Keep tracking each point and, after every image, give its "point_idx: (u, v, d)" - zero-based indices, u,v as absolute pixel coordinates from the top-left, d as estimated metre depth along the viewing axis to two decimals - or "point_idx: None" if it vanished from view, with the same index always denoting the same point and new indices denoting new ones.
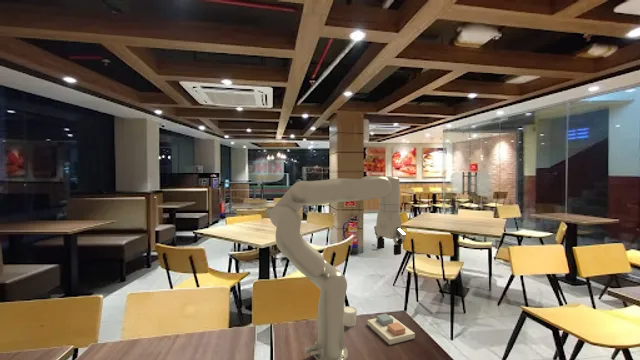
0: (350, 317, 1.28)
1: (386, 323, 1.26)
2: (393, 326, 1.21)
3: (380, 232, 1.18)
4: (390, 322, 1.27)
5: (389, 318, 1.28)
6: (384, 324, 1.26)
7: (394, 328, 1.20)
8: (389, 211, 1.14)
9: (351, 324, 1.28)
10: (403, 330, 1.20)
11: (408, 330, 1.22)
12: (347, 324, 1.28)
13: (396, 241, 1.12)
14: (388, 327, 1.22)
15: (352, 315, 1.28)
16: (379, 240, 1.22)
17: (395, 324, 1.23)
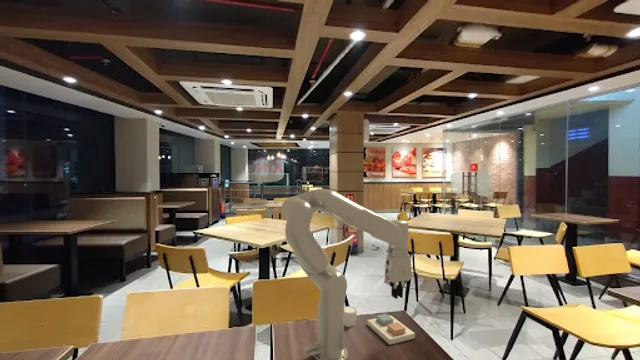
0: (350, 317, 1.28)
1: (386, 323, 1.26)
2: (393, 326, 1.21)
3: (398, 278, 1.17)
4: (390, 322, 1.27)
5: (389, 318, 1.28)
6: (384, 324, 1.26)
7: (394, 328, 1.20)
8: (407, 254, 1.19)
9: (351, 324, 1.28)
10: (403, 330, 1.20)
11: (408, 330, 1.22)
12: (347, 324, 1.28)
13: (404, 284, 1.20)
14: (388, 327, 1.22)
15: (352, 315, 1.28)
16: None
17: (395, 324, 1.23)
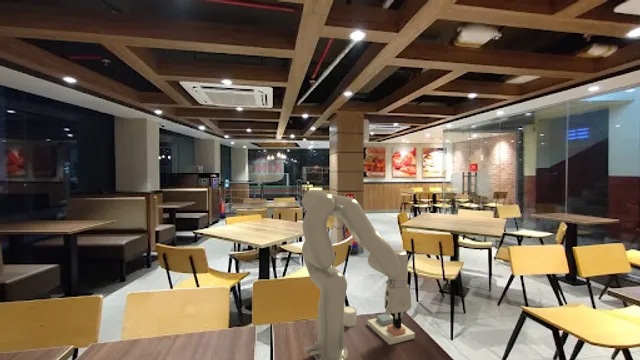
0: (350, 316, 1.28)
1: (386, 323, 1.26)
2: (392, 327, 1.21)
3: (397, 309, 1.18)
4: (390, 322, 1.27)
5: (389, 318, 1.28)
6: (384, 324, 1.26)
7: (394, 328, 1.20)
8: (407, 284, 1.20)
9: (351, 324, 1.28)
10: (403, 331, 1.20)
11: (408, 330, 1.22)
12: (347, 324, 1.28)
13: None
14: (388, 328, 1.22)
15: (352, 315, 1.28)
16: None
17: None
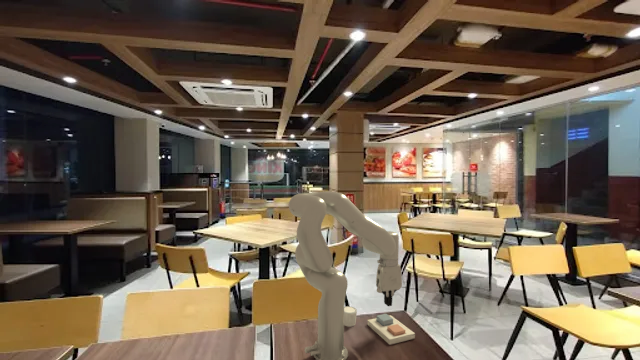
0: (350, 316, 1.28)
1: (386, 323, 1.26)
2: (392, 328, 1.21)
3: (388, 287, 1.23)
4: (390, 322, 1.27)
5: (389, 318, 1.28)
6: (384, 324, 1.26)
7: (394, 330, 1.20)
8: (398, 264, 1.25)
9: (351, 324, 1.28)
10: (403, 332, 1.20)
11: (408, 330, 1.22)
12: (347, 324, 1.28)
13: (393, 293, 1.26)
14: (388, 329, 1.22)
15: (352, 315, 1.28)
16: None
17: (395, 326, 1.23)
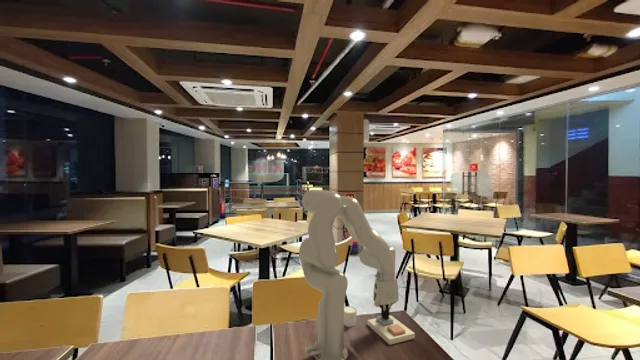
0: (350, 317, 1.28)
1: (386, 324, 1.26)
2: (392, 328, 1.21)
3: (385, 301, 1.25)
4: (390, 323, 1.27)
5: (389, 319, 1.28)
6: (384, 325, 1.26)
7: (394, 330, 1.20)
8: (394, 278, 1.27)
9: (351, 324, 1.28)
10: (403, 332, 1.20)
11: (408, 330, 1.22)
12: (347, 324, 1.28)
13: (390, 307, 1.28)
14: (388, 329, 1.22)
15: (352, 315, 1.28)
16: None
17: (395, 326, 1.23)
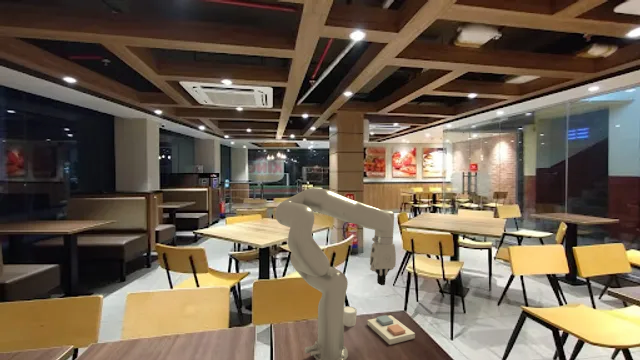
0: (350, 316, 1.28)
1: None
2: (392, 328, 1.21)
3: (382, 266, 1.22)
4: (390, 324, 1.27)
5: (389, 320, 1.28)
6: None
7: (394, 330, 1.20)
8: (392, 243, 1.24)
9: (351, 324, 1.28)
10: (403, 332, 1.20)
11: (408, 330, 1.22)
12: (347, 324, 1.28)
13: (387, 272, 1.25)
14: (388, 329, 1.22)
15: (352, 315, 1.28)
16: None
17: (395, 326, 1.23)
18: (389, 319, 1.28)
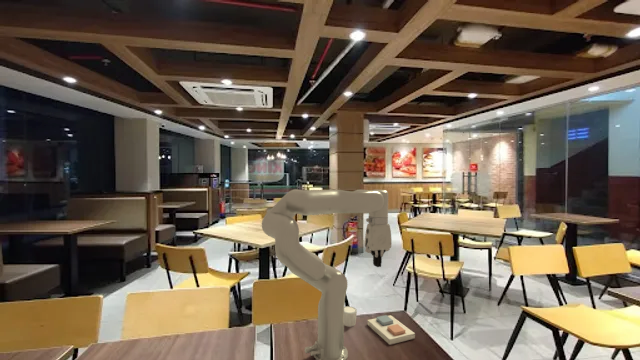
0: (350, 316, 1.28)
1: None
2: (392, 328, 1.21)
3: (377, 247, 1.18)
4: (390, 324, 1.27)
5: (389, 320, 1.28)
6: None
7: (394, 330, 1.20)
8: (387, 223, 1.20)
9: (351, 324, 1.28)
10: (403, 332, 1.20)
11: (408, 330, 1.22)
12: (347, 324, 1.28)
13: None
14: (388, 329, 1.22)
15: (352, 315, 1.28)
16: None
17: (395, 326, 1.23)
18: (389, 319, 1.28)
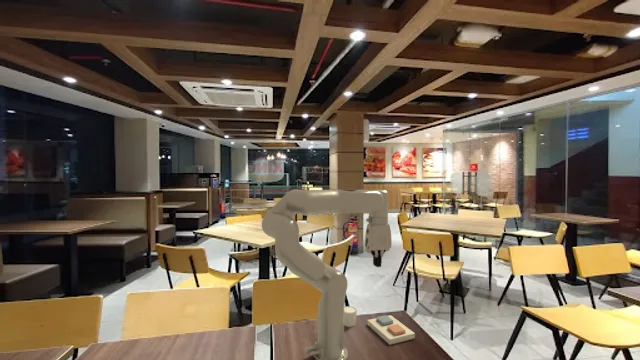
0: (350, 316, 1.28)
1: None
2: (392, 328, 1.21)
3: (377, 247, 1.18)
4: (390, 324, 1.27)
5: (389, 320, 1.28)
6: None
7: (394, 330, 1.20)
8: (387, 223, 1.20)
9: (351, 324, 1.28)
10: (403, 332, 1.20)
11: (408, 330, 1.22)
12: (347, 324, 1.28)
13: None
14: (388, 329, 1.22)
15: (352, 315, 1.28)
16: None
17: (395, 326, 1.23)
18: (389, 319, 1.28)
